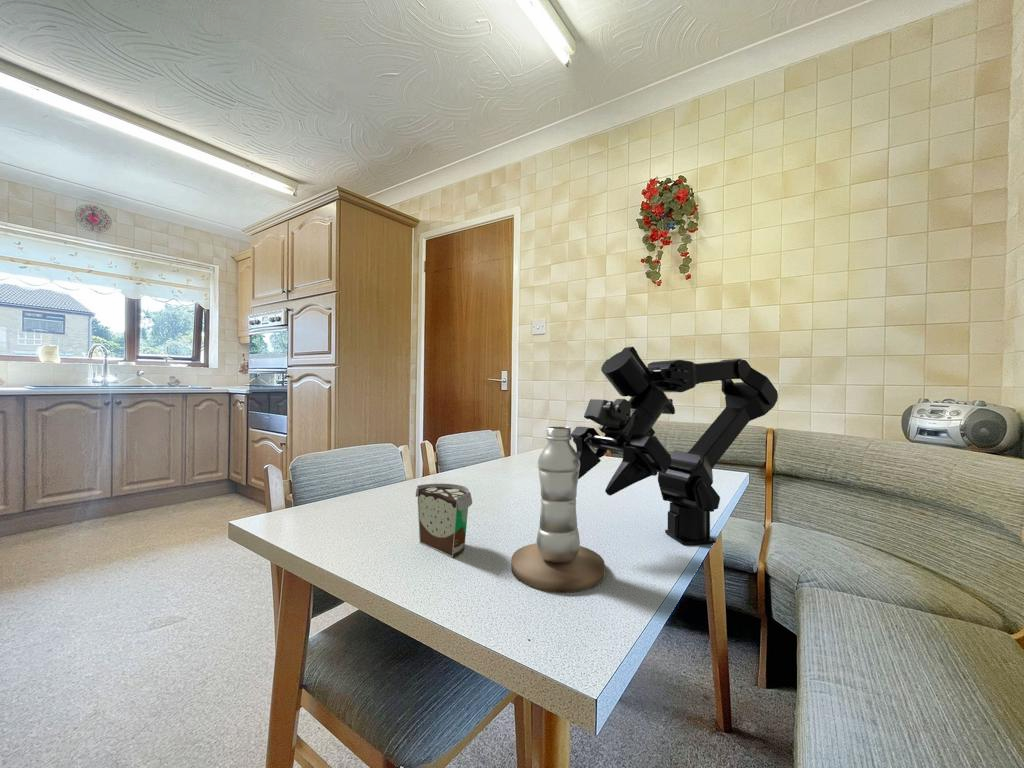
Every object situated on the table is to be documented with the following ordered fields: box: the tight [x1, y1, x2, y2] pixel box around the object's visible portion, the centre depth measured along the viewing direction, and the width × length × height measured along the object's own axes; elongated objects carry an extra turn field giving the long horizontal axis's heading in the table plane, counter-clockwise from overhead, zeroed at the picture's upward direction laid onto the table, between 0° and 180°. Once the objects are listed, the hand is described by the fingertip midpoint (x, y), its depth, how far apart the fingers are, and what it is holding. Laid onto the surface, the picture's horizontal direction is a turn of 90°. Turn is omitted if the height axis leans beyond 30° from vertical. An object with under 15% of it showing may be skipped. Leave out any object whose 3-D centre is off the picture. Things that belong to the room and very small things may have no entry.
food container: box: [415, 483, 473, 559], centre depth 70 cm, size 12×6×10 cm, turn 47°
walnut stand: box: [510, 542, 606, 593], centre depth 61 cm, size 14×14×2 cm
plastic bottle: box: [536, 426, 581, 563], centre depth 61 cm, size 6×7×20 cm
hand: (587, 487), depth 64 cm, fingers open, 9 cm apart
